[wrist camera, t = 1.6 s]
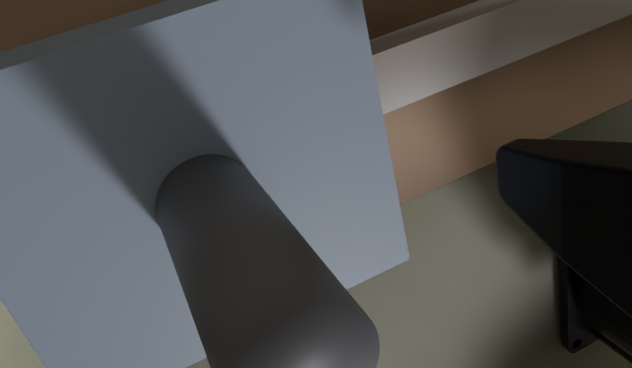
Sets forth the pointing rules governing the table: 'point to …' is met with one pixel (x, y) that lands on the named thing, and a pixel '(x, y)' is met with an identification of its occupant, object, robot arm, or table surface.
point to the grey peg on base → (197, 187)
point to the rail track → (446, 71)
